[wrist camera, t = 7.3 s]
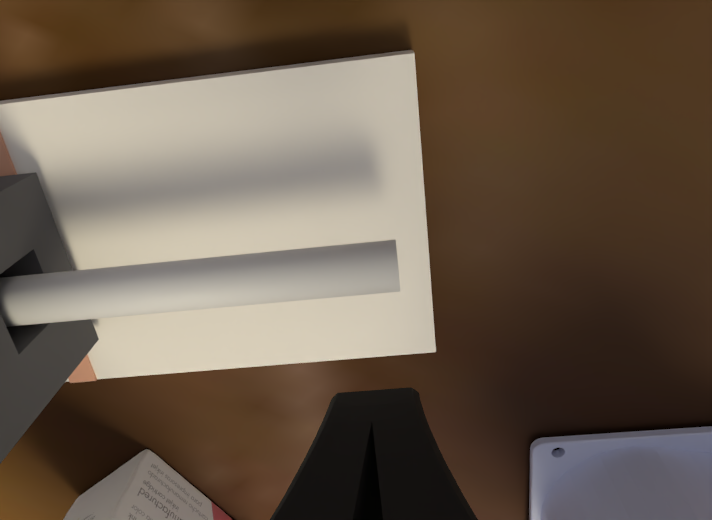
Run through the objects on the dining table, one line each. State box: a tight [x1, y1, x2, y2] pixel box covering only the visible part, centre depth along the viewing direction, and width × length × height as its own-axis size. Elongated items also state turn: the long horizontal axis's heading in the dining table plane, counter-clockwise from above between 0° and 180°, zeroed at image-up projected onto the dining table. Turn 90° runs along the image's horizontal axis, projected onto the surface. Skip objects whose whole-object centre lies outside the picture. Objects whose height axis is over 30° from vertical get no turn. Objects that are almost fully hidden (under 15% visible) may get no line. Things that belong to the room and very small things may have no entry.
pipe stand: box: [0, 50, 436, 383], centre depth 16 cm, size 20×10×8 cm, turn 97°
